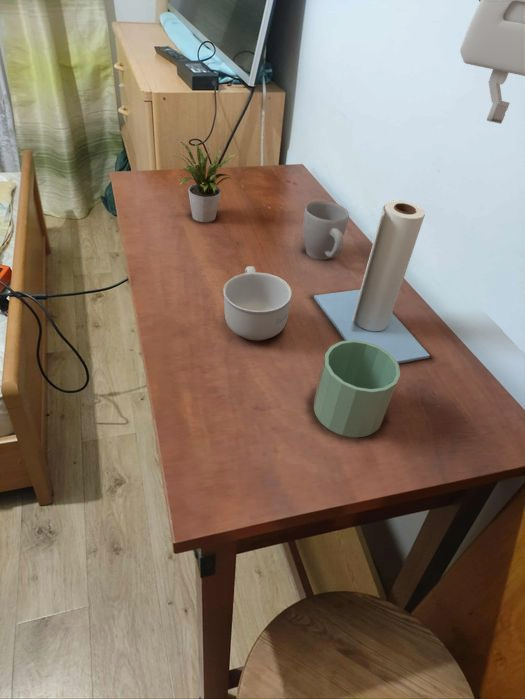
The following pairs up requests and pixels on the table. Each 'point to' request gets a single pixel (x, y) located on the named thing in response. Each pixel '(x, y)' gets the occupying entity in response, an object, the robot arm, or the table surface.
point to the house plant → (204, 185)
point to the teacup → (256, 304)
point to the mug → (324, 229)
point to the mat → (389, 339)
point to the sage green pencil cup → (355, 388)
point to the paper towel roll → (387, 264)
